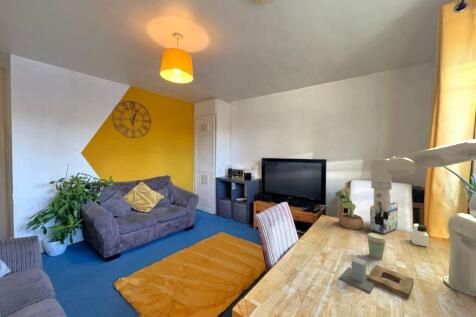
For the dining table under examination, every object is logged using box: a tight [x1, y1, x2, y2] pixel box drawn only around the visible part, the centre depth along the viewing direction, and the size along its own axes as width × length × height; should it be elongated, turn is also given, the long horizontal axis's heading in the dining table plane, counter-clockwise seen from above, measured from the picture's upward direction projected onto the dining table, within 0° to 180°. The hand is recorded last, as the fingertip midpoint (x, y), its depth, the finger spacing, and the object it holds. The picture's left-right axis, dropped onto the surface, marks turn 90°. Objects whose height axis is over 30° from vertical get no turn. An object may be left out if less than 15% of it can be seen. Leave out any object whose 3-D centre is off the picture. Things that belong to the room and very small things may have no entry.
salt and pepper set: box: [410, 223, 430, 248], centre depth 123 cm, size 7×7×12 cm
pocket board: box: [367, 264, 415, 300], centre depth 86 cm, size 14×14×2 cm
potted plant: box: [334, 188, 365, 230], centre depth 150 cm, size 22×18×30 cm
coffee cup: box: [366, 232, 387, 261], centre depth 107 cm, size 8×9×12 cm
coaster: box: [338, 266, 376, 294], centre depth 88 cm, size 12×12×1 cm
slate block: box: [351, 256, 367, 283], centre depth 88 cm, size 4×4×8 cm
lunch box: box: [369, 201, 399, 235], centre depth 143 cm, size 28×10×22 cm, turn 122°
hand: (381, 221), depth 90 cm, fingers open, 9 cm apart
